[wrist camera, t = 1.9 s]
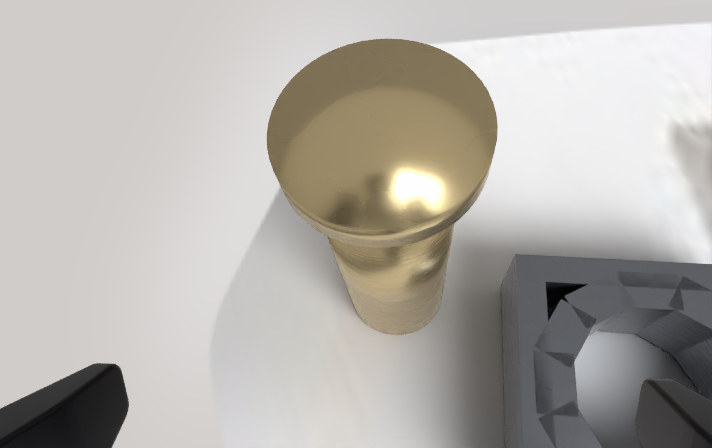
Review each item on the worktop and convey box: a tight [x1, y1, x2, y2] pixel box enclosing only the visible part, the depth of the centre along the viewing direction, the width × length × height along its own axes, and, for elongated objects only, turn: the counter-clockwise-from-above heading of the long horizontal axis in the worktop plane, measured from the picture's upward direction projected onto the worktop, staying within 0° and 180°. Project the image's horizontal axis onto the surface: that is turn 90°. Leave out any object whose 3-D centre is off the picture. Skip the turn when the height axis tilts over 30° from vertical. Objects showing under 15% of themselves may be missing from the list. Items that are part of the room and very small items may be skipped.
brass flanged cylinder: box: [267, 39, 497, 335], centre depth 17 cm, size 5×5×12 cm
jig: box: [501, 254, 712, 448], centre depth 18 cm, size 9×9×4 cm
